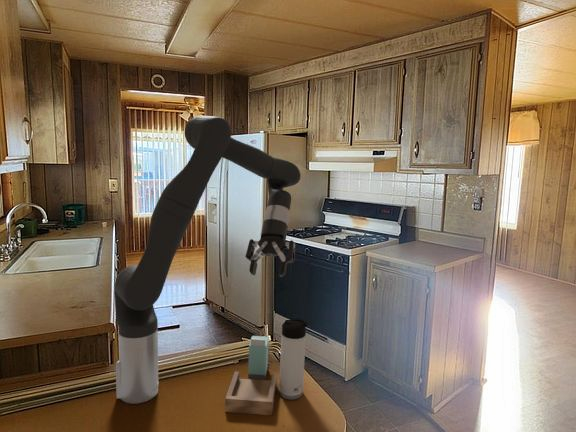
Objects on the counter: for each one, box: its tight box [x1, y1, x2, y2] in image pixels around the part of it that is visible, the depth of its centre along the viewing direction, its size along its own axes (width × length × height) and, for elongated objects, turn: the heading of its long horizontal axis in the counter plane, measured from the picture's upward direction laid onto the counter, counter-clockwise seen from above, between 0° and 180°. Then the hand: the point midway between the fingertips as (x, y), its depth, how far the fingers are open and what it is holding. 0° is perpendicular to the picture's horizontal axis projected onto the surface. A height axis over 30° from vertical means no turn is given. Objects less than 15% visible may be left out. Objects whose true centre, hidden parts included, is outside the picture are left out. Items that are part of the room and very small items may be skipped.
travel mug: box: [278, 318, 309, 400], centre depth 104 cm, size 6×7×20 cm
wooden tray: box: [224, 370, 278, 416], centre depth 102 cm, size 11×12×4 cm
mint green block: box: [247, 335, 270, 380], centre depth 113 cm, size 5×6×12 cm
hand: (266, 275), depth 113 cm, fingers open, 8 cm apart
